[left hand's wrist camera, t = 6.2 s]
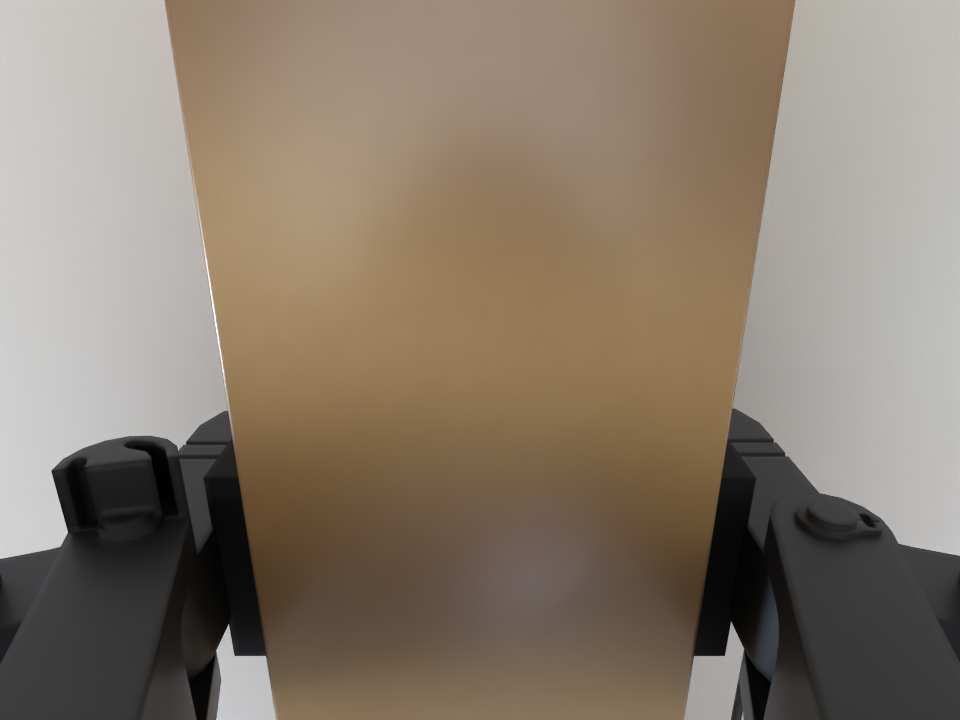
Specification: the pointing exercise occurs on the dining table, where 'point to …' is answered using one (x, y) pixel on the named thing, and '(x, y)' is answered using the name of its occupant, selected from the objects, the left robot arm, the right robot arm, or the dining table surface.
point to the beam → (479, 334)
